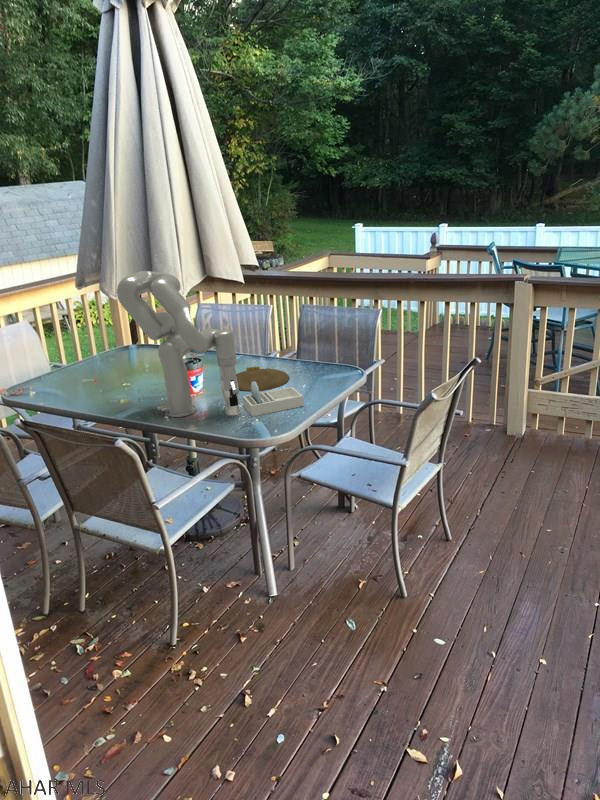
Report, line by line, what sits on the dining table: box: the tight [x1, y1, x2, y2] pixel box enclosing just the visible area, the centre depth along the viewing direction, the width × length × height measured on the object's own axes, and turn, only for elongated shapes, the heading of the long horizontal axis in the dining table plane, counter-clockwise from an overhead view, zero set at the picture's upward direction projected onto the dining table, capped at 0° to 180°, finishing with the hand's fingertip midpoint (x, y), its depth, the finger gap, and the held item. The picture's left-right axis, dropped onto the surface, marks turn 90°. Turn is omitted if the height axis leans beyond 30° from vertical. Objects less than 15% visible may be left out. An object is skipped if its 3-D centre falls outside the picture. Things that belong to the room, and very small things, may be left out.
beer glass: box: [220, 377, 241, 417], centre depth 251 cm, size 7×7×15 cm
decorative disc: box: [236, 366, 290, 393], centre depth 291 cm, size 29×3×30 cm
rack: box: [242, 381, 305, 417], centre depth 256 cm, size 22×13×12 cm, turn 110°
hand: (231, 402), depth 252 cm, fingers open, 7 cm apart
